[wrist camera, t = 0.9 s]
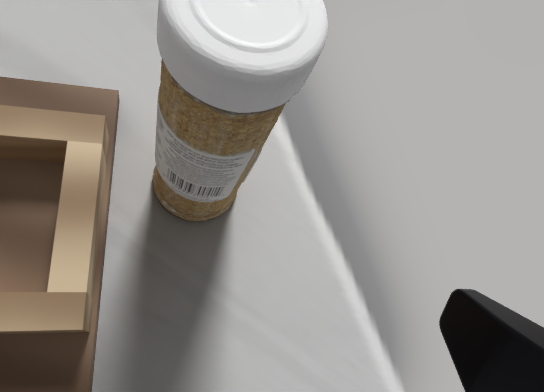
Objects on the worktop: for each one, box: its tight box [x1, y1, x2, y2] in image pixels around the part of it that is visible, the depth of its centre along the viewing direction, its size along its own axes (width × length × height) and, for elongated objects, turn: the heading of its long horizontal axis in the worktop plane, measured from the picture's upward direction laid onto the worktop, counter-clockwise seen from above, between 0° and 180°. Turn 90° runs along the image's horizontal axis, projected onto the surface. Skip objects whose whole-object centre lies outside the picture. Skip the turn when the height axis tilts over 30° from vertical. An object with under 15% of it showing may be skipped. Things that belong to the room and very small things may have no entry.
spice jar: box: [153, 0, 328, 221], centre depth 17 cm, size 5×5×13 cm
